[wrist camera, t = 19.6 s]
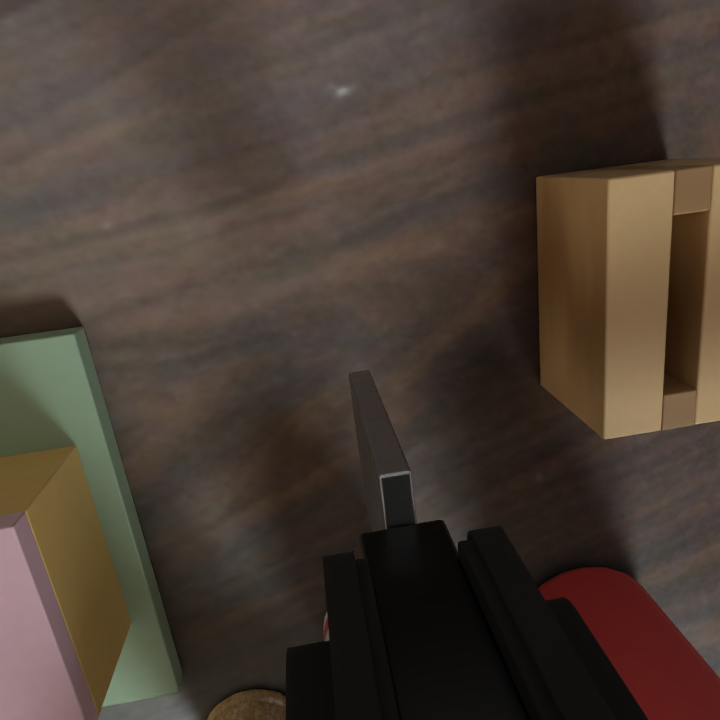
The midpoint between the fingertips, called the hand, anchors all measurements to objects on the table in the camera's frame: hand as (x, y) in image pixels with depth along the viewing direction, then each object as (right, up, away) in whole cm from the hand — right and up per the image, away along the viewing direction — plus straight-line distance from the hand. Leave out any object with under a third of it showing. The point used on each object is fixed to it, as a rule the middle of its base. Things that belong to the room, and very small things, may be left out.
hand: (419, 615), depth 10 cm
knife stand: (+8, +8, +12) cm, 16 cm away
